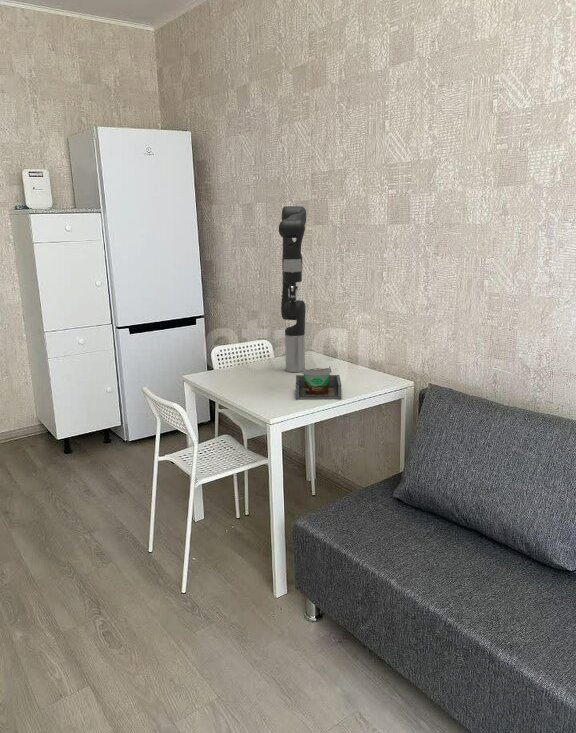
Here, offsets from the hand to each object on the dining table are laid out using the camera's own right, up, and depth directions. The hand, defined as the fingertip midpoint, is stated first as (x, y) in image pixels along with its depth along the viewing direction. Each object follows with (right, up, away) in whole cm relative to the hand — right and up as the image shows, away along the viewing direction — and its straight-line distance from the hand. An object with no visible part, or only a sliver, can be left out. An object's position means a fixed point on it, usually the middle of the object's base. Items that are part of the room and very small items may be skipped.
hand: (293, 309), depth 250 cm
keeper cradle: (+10, -35, -4) cm, 37 cm away
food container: (+10, -34, -6) cm, 36 cm away
